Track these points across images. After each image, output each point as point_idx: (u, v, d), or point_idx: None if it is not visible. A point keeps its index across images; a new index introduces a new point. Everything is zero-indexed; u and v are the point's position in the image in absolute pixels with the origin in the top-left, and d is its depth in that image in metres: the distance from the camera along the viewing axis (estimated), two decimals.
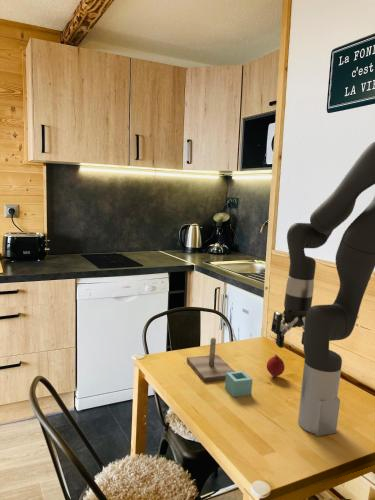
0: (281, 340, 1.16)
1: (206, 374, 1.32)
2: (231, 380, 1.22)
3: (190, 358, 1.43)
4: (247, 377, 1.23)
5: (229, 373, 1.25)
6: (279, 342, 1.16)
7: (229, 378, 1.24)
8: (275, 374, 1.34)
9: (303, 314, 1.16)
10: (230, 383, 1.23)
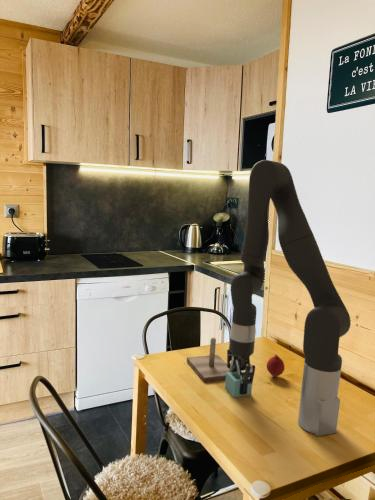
0: None
1: (206, 374, 1.32)
2: (231, 380, 1.22)
3: (190, 358, 1.43)
4: None
5: (229, 373, 1.25)
6: None
7: (229, 378, 1.24)
8: (275, 374, 1.34)
9: None
10: (230, 383, 1.23)
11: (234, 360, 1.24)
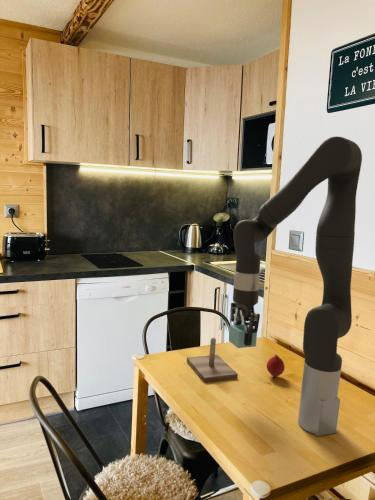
0: None
1: (206, 374, 1.32)
2: (235, 331, 1.20)
3: (190, 358, 1.43)
4: None
5: (233, 325, 1.23)
6: None
7: (233, 330, 1.21)
8: (275, 374, 1.34)
9: None
10: (234, 334, 1.20)
11: (238, 311, 1.21)
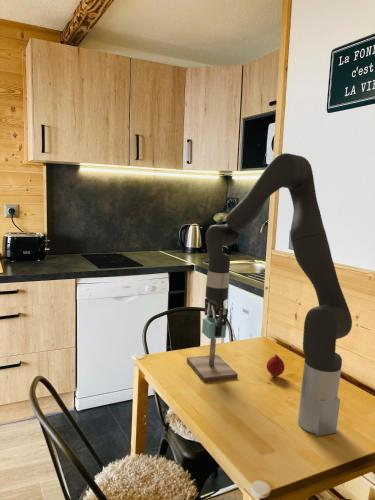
0: None
1: (206, 374, 1.32)
2: (207, 324, 1.35)
3: (190, 358, 1.43)
4: None
5: (206, 318, 1.38)
6: None
7: (205, 322, 1.36)
8: (275, 374, 1.34)
9: None
10: (206, 326, 1.35)
11: (210, 306, 1.36)
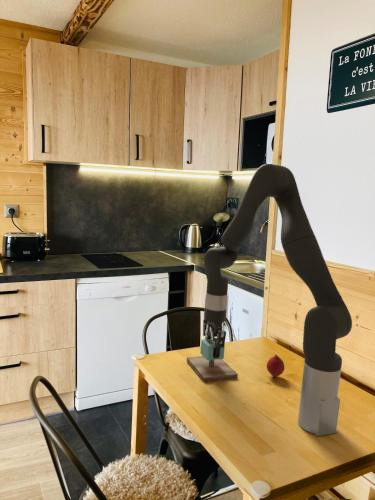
0: None
1: (206, 374, 1.32)
2: (205, 345, 1.36)
3: (190, 358, 1.43)
4: None
5: (204, 340, 1.39)
6: None
7: (204, 344, 1.37)
8: (275, 374, 1.34)
9: None
10: (205, 348, 1.36)
11: (208, 328, 1.37)
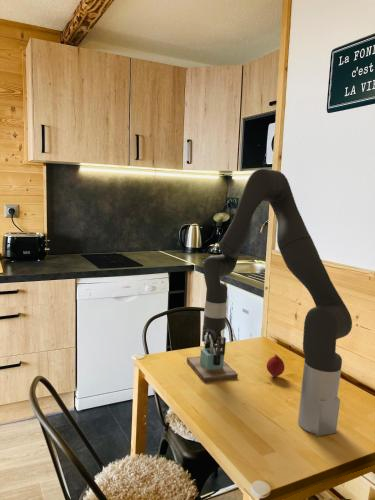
0: (219, 358, 1.34)
1: (206, 374, 1.32)
2: (205, 355, 1.36)
3: (190, 358, 1.43)
4: None
5: (204, 349, 1.39)
6: None
7: (203, 353, 1.37)
8: (275, 374, 1.34)
9: None
10: (204, 357, 1.37)
11: (208, 335, 1.37)
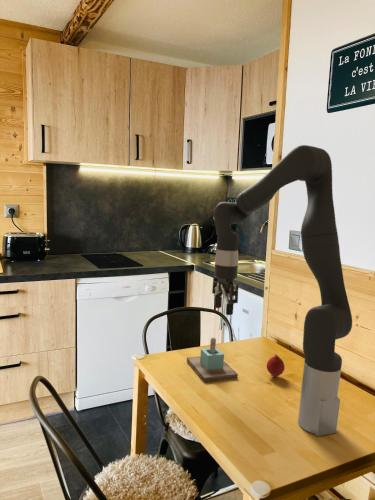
0: (232, 307, 1.31)
1: (206, 374, 1.32)
2: (205, 355, 1.36)
3: (190, 358, 1.43)
4: (219, 352, 1.37)
5: (204, 349, 1.39)
6: None
7: (203, 353, 1.37)
8: (275, 374, 1.34)
9: None
10: (204, 357, 1.37)
11: (219, 286, 1.34)
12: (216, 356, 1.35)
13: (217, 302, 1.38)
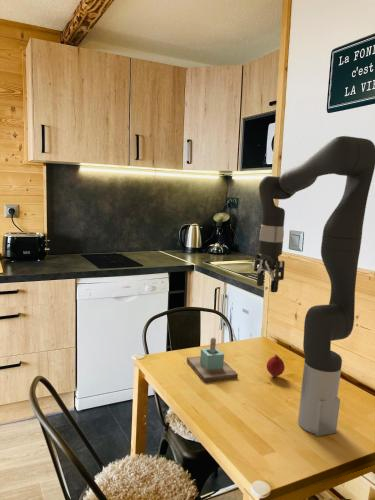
0: (277, 285, 1.28)
1: (206, 374, 1.32)
2: (205, 355, 1.36)
3: (190, 358, 1.43)
4: (219, 352, 1.37)
5: (204, 349, 1.39)
6: None
7: (203, 353, 1.37)
8: (275, 374, 1.34)
9: None
10: (204, 357, 1.37)
11: (263, 263, 1.31)
12: (216, 356, 1.35)
13: (259, 280, 1.35)
